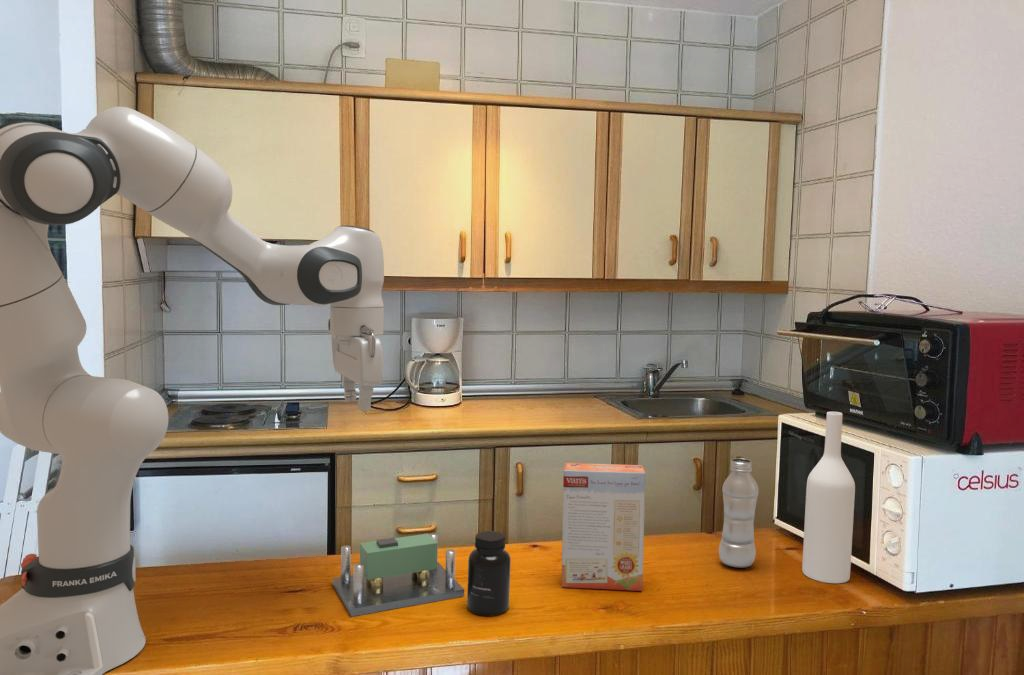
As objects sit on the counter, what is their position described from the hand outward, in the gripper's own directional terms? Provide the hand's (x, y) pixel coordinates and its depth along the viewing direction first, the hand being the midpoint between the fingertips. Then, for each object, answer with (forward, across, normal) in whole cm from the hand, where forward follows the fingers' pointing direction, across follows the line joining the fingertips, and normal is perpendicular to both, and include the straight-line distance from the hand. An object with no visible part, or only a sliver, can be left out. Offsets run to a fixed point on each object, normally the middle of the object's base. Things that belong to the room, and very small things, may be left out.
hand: (357, 405), depth 128 cm
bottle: (+31, -30, -79) cm, 90 cm away
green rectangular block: (+27, -6, -6) cm, 29 cm away
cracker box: (+31, -17, -39) cm, 53 cm away
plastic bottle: (+31, -20, -67) cm, 77 cm away
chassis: (+31, -6, -6) cm, 32 cm away
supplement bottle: (+31, -18, -17) cm, 40 cm away
